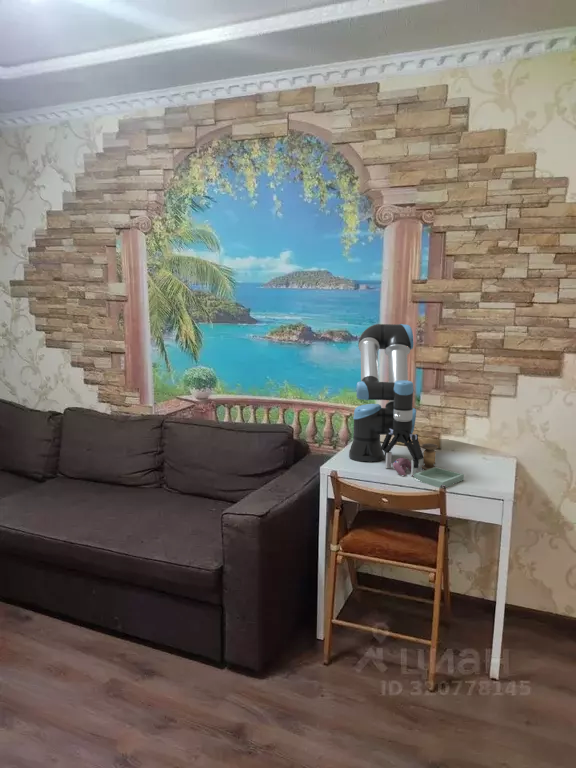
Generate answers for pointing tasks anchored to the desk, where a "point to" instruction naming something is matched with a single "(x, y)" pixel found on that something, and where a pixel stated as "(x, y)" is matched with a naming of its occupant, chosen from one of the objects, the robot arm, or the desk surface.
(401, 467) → the video game controller
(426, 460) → the bobbin
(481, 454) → the desk surface
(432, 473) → the green square tray
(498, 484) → the desk surface
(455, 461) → the desk surface
